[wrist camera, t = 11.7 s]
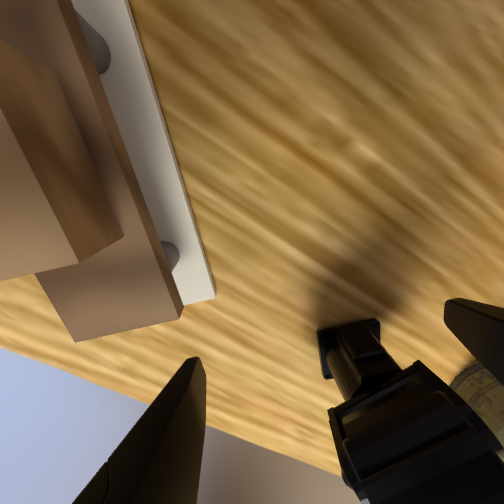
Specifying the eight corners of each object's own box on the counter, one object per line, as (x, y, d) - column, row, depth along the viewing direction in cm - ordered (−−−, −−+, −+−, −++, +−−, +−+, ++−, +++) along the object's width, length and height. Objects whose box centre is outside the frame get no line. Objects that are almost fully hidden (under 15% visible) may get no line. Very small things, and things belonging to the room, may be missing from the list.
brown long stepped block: (184, 306, 17) (160, 367, 11) (88, 327, 17) (22, 399, 11) (38, -89, 10) (-181, -379, 5) (-121, -51, 10) (-514, -297, 5)
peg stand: (216, 292, 22) (211, 325, 17) (114, 315, 22) (81, 355, 17) (112, -51, 14) (49, -165, 9) (-49, -13, 14) (-194, -107, 9)
